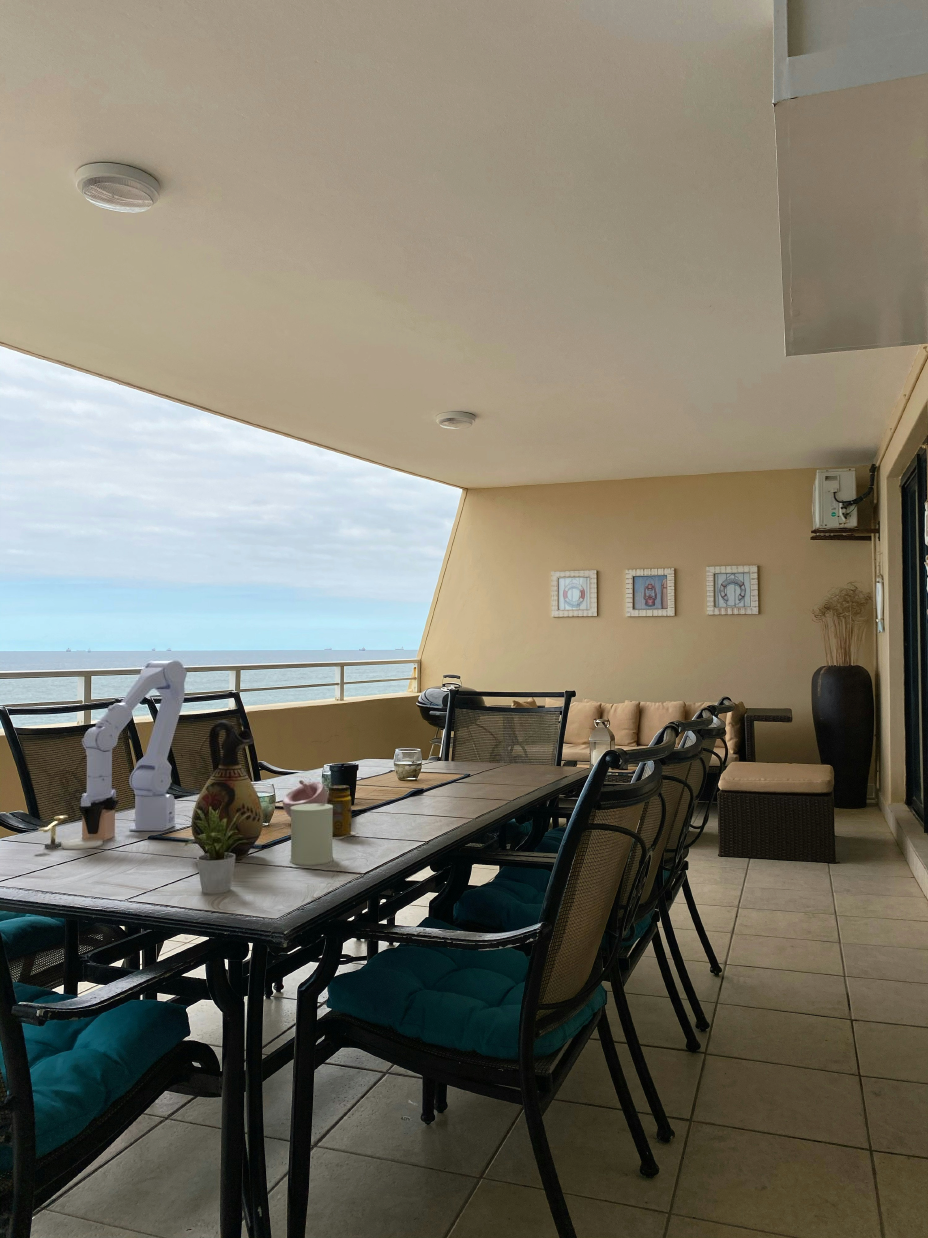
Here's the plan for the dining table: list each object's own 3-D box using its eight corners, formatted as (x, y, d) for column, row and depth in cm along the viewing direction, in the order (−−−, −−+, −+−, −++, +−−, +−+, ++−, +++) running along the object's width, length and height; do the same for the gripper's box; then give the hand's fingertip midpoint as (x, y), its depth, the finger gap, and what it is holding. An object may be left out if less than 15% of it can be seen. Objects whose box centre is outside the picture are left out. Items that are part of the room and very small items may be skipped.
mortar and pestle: (273, 823, 235) (273, 780, 235) (306, 817, 244) (306, 775, 245) (303, 828, 228) (303, 783, 228) (337, 821, 237) (337, 778, 238)
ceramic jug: (278, 855, 195) (278, 720, 197) (223, 869, 182) (224, 724, 184) (226, 847, 205) (227, 718, 206) (171, 859, 192) (172, 722, 193)
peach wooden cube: (114, 836, 219) (115, 808, 219) (104, 840, 213) (104, 812, 214) (92, 836, 219) (93, 808, 219) (82, 840, 214) (82, 812, 214)
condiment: (358, 833, 220) (357, 785, 221) (340, 839, 212) (340, 789, 213) (333, 831, 223) (333, 784, 223) (314, 837, 215) (314, 788, 216)
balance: (57, 843, 211) (57, 815, 211) (69, 843, 211) (70, 815, 211) (35, 851, 201) (35, 823, 201) (48, 851, 201) (48, 823, 201)
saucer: (109, 841, 212) (109, 838, 212) (91, 849, 203) (91, 846, 203) (72, 841, 212) (72, 838, 212) (53, 849, 203) (53, 846, 204)
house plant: (154, 892, 163) (154, 804, 164) (212, 877, 175) (213, 795, 176) (205, 903, 156) (205, 811, 156) (263, 887, 167) (263, 800, 168)
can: (342, 858, 191) (341, 803, 192) (314, 867, 183) (314, 809, 184) (309, 854, 196) (309, 800, 196) (281, 862, 188) (281, 806, 189)
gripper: (97, 772, 224) (96, 826, 224) (69, 779, 210) (68, 837, 209) (124, 772, 224) (123, 826, 223) (97, 779, 210) (97, 837, 209)
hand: (98, 831), depth 216 cm, fingers open, 6 cm apart
